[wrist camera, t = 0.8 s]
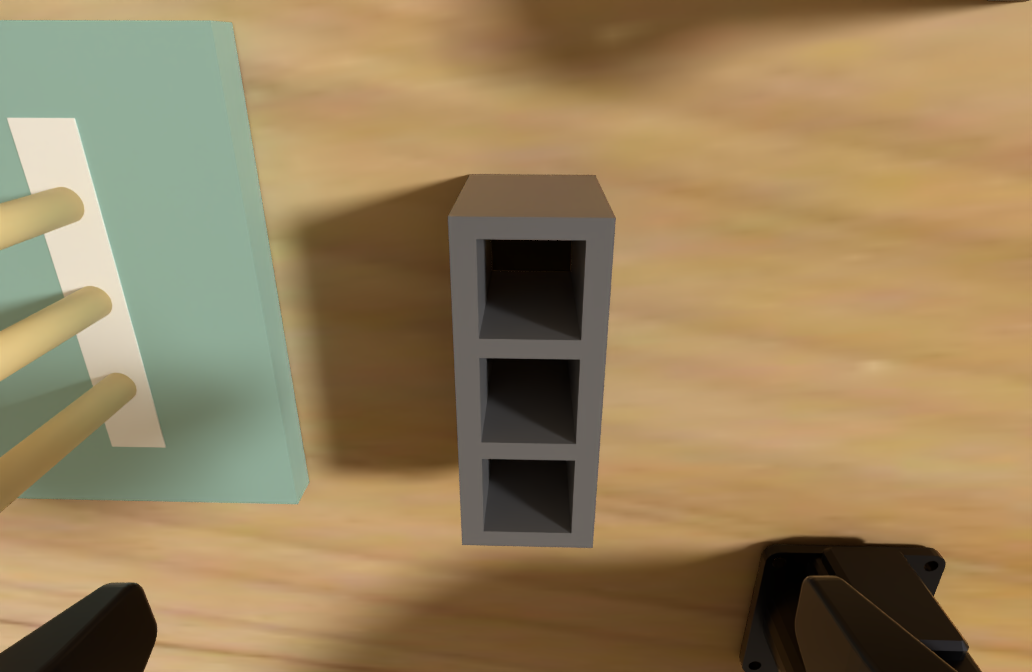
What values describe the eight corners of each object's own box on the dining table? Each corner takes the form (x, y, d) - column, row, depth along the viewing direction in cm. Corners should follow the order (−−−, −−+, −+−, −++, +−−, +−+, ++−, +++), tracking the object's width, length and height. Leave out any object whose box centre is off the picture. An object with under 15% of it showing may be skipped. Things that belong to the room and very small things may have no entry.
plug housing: (580, 443, 22) (592, 547, 17) (477, 441, 22) (462, 545, 17) (595, 175, 18) (615, 218, 13) (470, 174, 18) (447, 216, 13)
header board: (309, 482, 23) (218, 656, 16) (40, 476, 23) (-157, 646, 16) (232, 22, 16) (32, 4, 10) (-136, 22, 17) (-567, 4, 10)
